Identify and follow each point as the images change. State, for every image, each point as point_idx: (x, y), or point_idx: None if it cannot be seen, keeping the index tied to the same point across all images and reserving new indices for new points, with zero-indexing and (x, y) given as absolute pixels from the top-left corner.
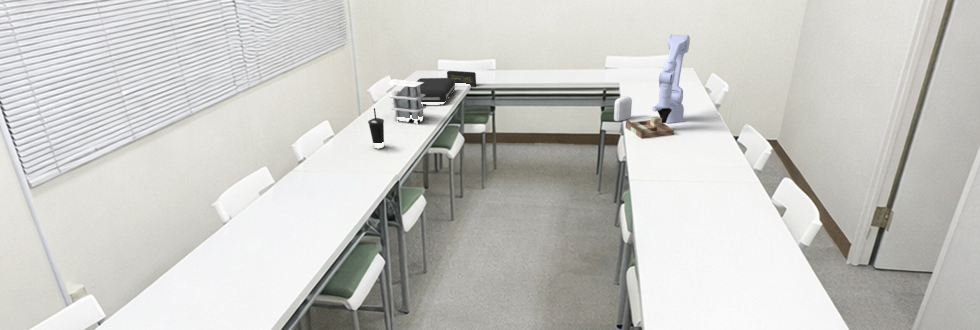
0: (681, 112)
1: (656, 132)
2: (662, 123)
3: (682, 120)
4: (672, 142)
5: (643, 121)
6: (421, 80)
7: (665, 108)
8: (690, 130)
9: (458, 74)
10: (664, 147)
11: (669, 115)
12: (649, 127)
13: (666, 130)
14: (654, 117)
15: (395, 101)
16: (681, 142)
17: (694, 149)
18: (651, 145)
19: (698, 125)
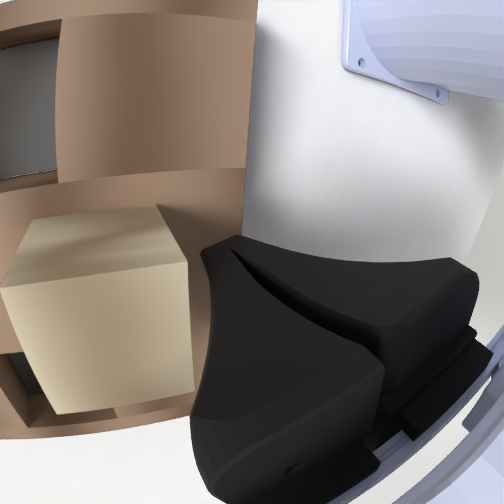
0: (497, 97)
1: (63, 431)
2: (231, 205)
3: (444, 96)
4: (145, 466)
5: (10, 28)
6: None
7: (395, 445)
8: None
9: None
10: (88, 496)
11: (425, 51)
12: (4, 329)
13: (161, 419)
14: (75, 330)
15: None
16: (193, 463)
17: (206, 497)
18: (27, 480)
19: (445, 211)
